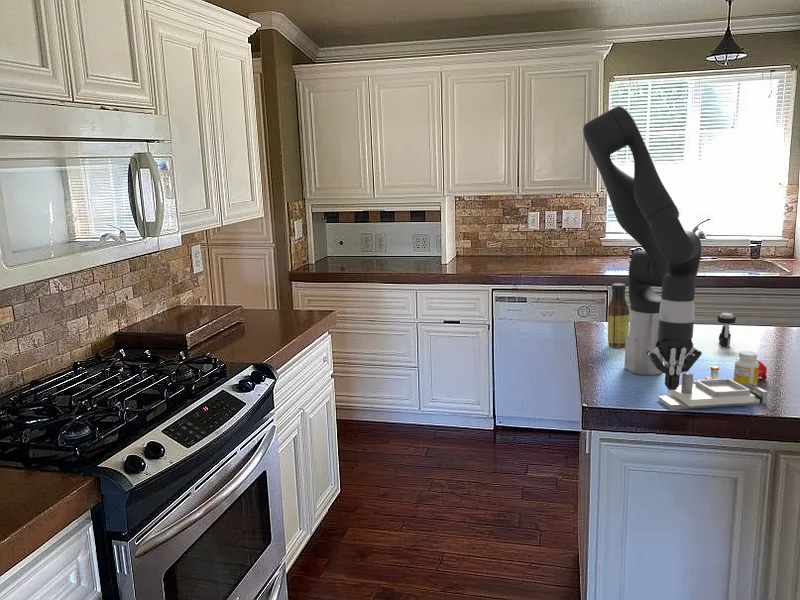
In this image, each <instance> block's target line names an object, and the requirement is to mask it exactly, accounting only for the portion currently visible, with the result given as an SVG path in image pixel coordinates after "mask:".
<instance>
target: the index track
mask: <svg viewBox="0 0 800 600" xmlns="http://www.w3.org/2000/svg"><path fill="white" fill-rule="evenodd" d="M719 371H720V367H719V366H717V365H713V366H712V365H711V366H710V377H712V378H713V379H719ZM747 388H748V389H750V390H751V391H750V393H751V394H753V395H755V402H750V403H735V404H719V405H703V406H688V405H687V404H685V403H684V402H682V401H681V400H679V399H678V398H676V397H675V396H673V395H672V394H670V395H659V396H658V402H659V403H661V405H664V406H665V407H667V408H668V409H669V410H671V411H675V410H689V409H690V410H691V409H705V408H708V409H709V408H720V407H721V408H722V407H736V406H750V405H751V406H753V405H754V406H755V405H760V404H762V405H766V404H767V403H768V402H767V399H768V391H767V390H766V389H763V388H761V387H759V386H758V385H757V386H755V385H753V384H748V385H747Z"/></svg>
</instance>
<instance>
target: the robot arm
mask: <svg viewBox="0 0 800 600" xmlns="http://www.w3.org/2000/svg"><path fill="white" fill-rule="evenodd" d="M582 132H583V137H584V139H585V143H586V145H587V148H588V149H589V152H590V154H591V156H592V159H593V161H594V164H595V165H596V167H597V169H598V172H599V174H600V175H601V178H602V182H603V183H604V186H605V189H606V192H607V195H608V199H609V201H610V204H611V207H612V210H613V214H614V216H615V219H616V220H617V223H618V224H619V226H620V227H621V228H622V229H623V230H624V231H625V232H626V233H627V234H628V235H629V236H630V237H631V238H632V239H634V241H636V242H637V244H638V245H639V246H641V247H642V248H643V250H642V249H639V250H637V251H636V252H634V253H633V254H632V256H631V258H630V261H629V265H628V298H629V299H628V300H629V304H630V306H629V307H630V308H629V309H630V311H629V335H626V344H625V348H624V364H623V365H624V367H623V368H624V369H626V370H628V371H629V372H630V373H632V374H634V375H644V376H646V375H647V376H648V375H649V376H651V375H652V376H653V375H660V374H661V373H663V374H664V386H665V387H666V388H667V390H668V389H669V390H677V387H678V386H679V385H680V377H681V376H680V375H682V373H684V372H688V371H690V369H691V368H692V367H693V365H694V364H695V363H696V362H697V361H698V360H699V359H700V357H701V356H702V353H703V352H702V351H700V350H699V349H697V348H696V347H695V346H694V343H693V340H692V339H693V337H694V326H695V325H694V324H695V323H694V322H695V316H696V315H695V312H696V311H695V297H696V296H695V293H696V278H697V274H698V271H699V268H700V267H699V266H700V262H701V256H702V242H701V239H700V237H699V235H698V234H696V233H695V232H693V231H691V230H685V228H684V227H683V225H682V223H681V222H680V219H679V216H680V211H679V210H678V207H677V205H676V204H675V202H674V200H673V199H672V197H671V195H670V194H669V192H668V190H667V188H666V187H665V185H664V184H663V182H662V180H661V178H660V176H659V173H658V171H657V169H656V167H655V164H654V161H653V159H652V157H651V155H650V152H649V149H648V148H647V145H646V143H645V141H644V138H643V136H642V134H641V132H640V130H639V126H638V125H637V124H636V121H635V119H634V117H633V116H632V115H631V114H630V112H629V111H628V110H627V109H626V108H625V107H623V106H620V105H619V106H616V107H614V108H611V109H609V110H607V111H605V112H604V113H603V114H602V113H601V114H600V115H597V117H595V118H592V119H591V120H589V121H588V122H586V123H585V124H584V126H583V130H582ZM627 146H628V147H629V150H630V152H631V154H632V157H633V163H634V165H633V166H634V167H633V168H634V169H633V171H634V172H633V173H634V174H633V176H631V175H629V174H628V173H626V172H625V171H623V170H621V168H619V167H618V166H617V165H615V164H614V163H613V161H612V158H611V155H613V154H614V153H616V152H619V151H620V150H622V149H623V148H625V147H627ZM652 287H658V288H659V287H661V296H660V295H658V294H657V293H656V292H655V291H654V290H653V288H652Z"/></svg>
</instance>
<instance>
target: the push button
mask: <svg viewBox="0 0 800 600" xmlns="http://www.w3.org/2000/svg"><path fill="white" fill-rule="evenodd" d="M716 319H717V322H718V323H719V324H721V325H722V329H721V332H719V335H718V345H719V346H722V348H730V345H731V336H732V335H731V333H730V325H733V324H735V323H736V320H737V317H735V316H734V314H733V313H729V312H721V313H720V314H719V315H717V317H716Z"/></svg>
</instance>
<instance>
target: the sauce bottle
mask: <svg viewBox="0 0 800 600" xmlns="http://www.w3.org/2000/svg"><path fill="white" fill-rule="evenodd" d="M611 289H612V290H611V292H612V295H611V300H610V302H609V303H608V305H607V306H608V308H607V309H608V311H607V312H608V313H607V343H608V345H607V346H608V347H610V348H613V349H620V350H621V349H625V344H626V335H629V326H630V311H629V306H628V304H627V301H626V284H625V283H621V282H620V283H619V282H618V283H612V284H611Z"/></svg>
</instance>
